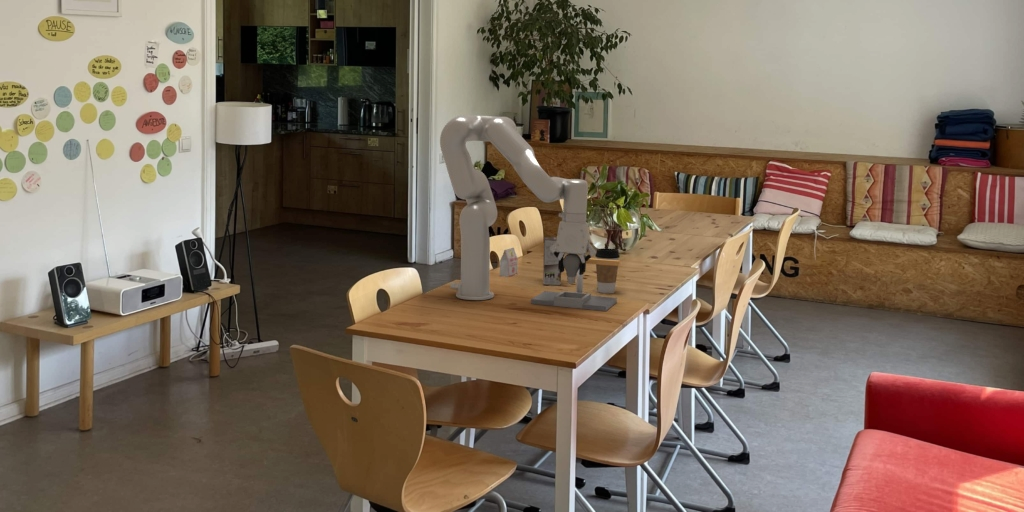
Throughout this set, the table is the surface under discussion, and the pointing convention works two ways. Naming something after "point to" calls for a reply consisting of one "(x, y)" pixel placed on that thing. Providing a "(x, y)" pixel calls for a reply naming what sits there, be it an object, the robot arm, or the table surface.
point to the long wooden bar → (603, 262)
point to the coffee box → (550, 264)
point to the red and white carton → (508, 263)
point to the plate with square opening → (574, 299)
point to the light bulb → (571, 266)
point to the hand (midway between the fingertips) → (571, 272)
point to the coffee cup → (606, 270)
